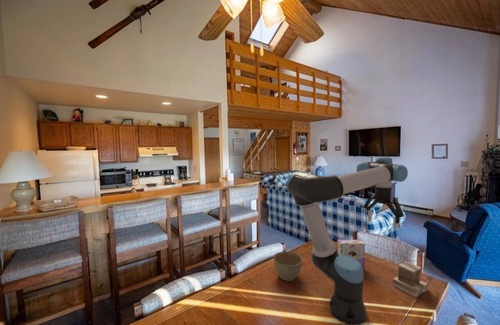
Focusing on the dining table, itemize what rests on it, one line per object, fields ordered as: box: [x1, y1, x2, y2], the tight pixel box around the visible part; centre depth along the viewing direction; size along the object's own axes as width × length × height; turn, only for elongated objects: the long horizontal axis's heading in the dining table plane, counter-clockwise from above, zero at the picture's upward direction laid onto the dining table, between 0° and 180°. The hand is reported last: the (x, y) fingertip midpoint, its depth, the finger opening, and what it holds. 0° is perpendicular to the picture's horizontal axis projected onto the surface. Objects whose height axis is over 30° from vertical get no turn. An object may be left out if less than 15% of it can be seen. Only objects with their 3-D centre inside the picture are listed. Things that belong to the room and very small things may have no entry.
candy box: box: [337, 239, 366, 271], centre depth 135 cm, size 14×6×16 cm, turn 84°
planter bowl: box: [273, 251, 303, 282], centre depth 127 cm, size 16×16×11 cm
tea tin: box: [397, 261, 422, 287], centre depth 116 cm, size 7×7×8 cm
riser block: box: [392, 275, 429, 298], centre depth 116 cm, size 11×11×4 cm
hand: (381, 225), depth 121 cm, fingers open, 13 cm apart
